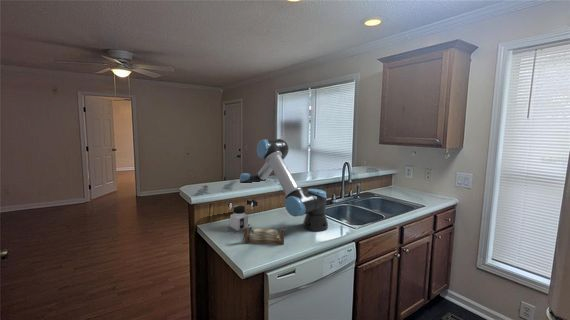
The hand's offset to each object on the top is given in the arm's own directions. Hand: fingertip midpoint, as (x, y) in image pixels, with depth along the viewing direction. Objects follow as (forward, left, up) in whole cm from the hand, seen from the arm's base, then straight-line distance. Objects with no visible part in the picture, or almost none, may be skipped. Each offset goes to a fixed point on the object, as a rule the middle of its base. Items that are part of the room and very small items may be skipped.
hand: (240, 207), depth 166 cm
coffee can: (-52, -32, -10) cm, 62 cm away
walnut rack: (-18, +21, -10) cm, 29 cm away
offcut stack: (-18, +26, -8) cm, 32 cm away
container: (-1, +9, -9) cm, 13 cm away
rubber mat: (-1, +9, -10) cm, 13 cm away
